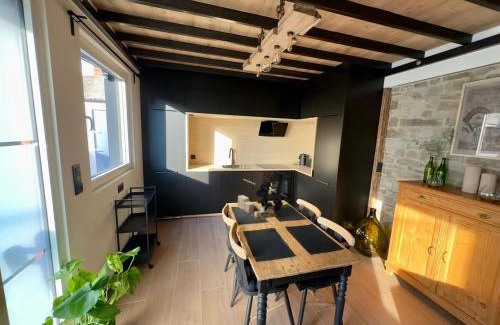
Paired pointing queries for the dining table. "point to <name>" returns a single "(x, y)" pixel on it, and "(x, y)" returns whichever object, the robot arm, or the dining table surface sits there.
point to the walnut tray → (264, 216)
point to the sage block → (263, 209)
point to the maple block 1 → (257, 213)
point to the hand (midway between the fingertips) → (264, 210)
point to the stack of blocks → (245, 204)
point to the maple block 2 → (270, 211)
